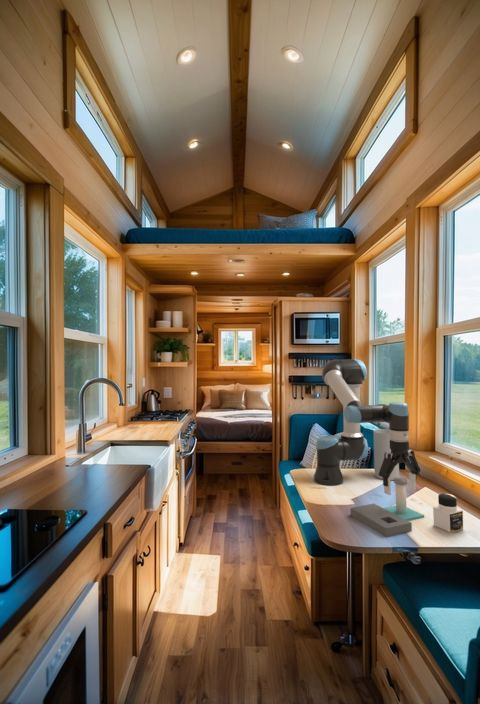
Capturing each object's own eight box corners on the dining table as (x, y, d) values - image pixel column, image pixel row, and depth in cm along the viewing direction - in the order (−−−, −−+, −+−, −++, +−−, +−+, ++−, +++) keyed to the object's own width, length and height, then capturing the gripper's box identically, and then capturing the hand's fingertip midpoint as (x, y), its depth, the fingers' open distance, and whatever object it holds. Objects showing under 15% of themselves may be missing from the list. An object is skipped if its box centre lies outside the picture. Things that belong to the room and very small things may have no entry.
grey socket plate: (350, 515, 147) (350, 507, 148) (373, 510, 152) (373, 503, 152) (386, 536, 129) (386, 528, 129) (411, 530, 133) (411, 522, 133)
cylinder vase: (403, 480, 190) (402, 433, 191) (379, 480, 190) (378, 433, 191) (393, 473, 202) (392, 429, 203) (371, 473, 202) (370, 429, 203)
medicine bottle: (450, 533, 131) (449, 500, 131) (433, 525, 137) (432, 493, 138) (463, 529, 134) (462, 496, 134) (446, 521, 140) (445, 490, 141)
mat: (379, 510, 152) (379, 508, 152) (401, 506, 156) (401, 504, 156) (401, 522, 140) (401, 520, 140) (424, 517, 145) (424, 515, 145)
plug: (392, 510, 149) (391, 478, 150) (401, 508, 151) (400, 476, 152) (401, 515, 145) (400, 481, 145) (410, 513, 147) (409, 480, 147)
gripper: (382, 444, 141) (383, 499, 141) (429, 439, 150) (430, 490, 150) (368, 440, 148) (369, 492, 148) (414, 435, 157) (415, 484, 157)
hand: (400, 491), depth 149 cm, fingers open, 13 cm apart
